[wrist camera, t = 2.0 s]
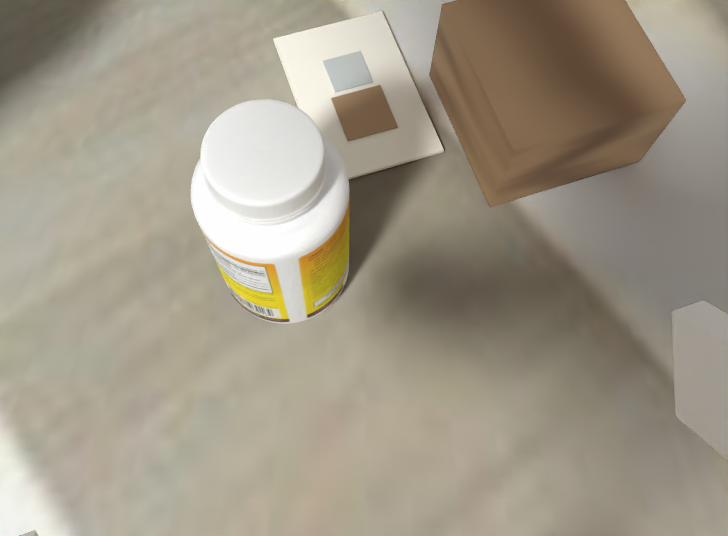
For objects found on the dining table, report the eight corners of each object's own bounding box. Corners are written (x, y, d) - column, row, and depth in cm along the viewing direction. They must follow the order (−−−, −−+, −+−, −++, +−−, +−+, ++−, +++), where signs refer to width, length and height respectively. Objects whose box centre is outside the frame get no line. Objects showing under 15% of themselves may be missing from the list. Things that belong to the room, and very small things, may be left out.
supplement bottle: (341, 208, 33) (340, 69, 23) (356, 320, 31) (361, 218, 21) (222, 220, 32) (171, 84, 23) (229, 335, 30) (176, 238, 21)
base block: (489, 207, 33) (514, 151, 28) (429, 74, 36) (442, 4, 31) (639, 161, 34) (686, 100, 29) (569, 36, 37) (602, -37, 32)
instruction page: (326, 185, 33) (326, 183, 33) (273, 41, 36) (273, 37, 36) (443, 152, 34) (444, 148, 34) (381, 13, 37) (382, 9, 37)
